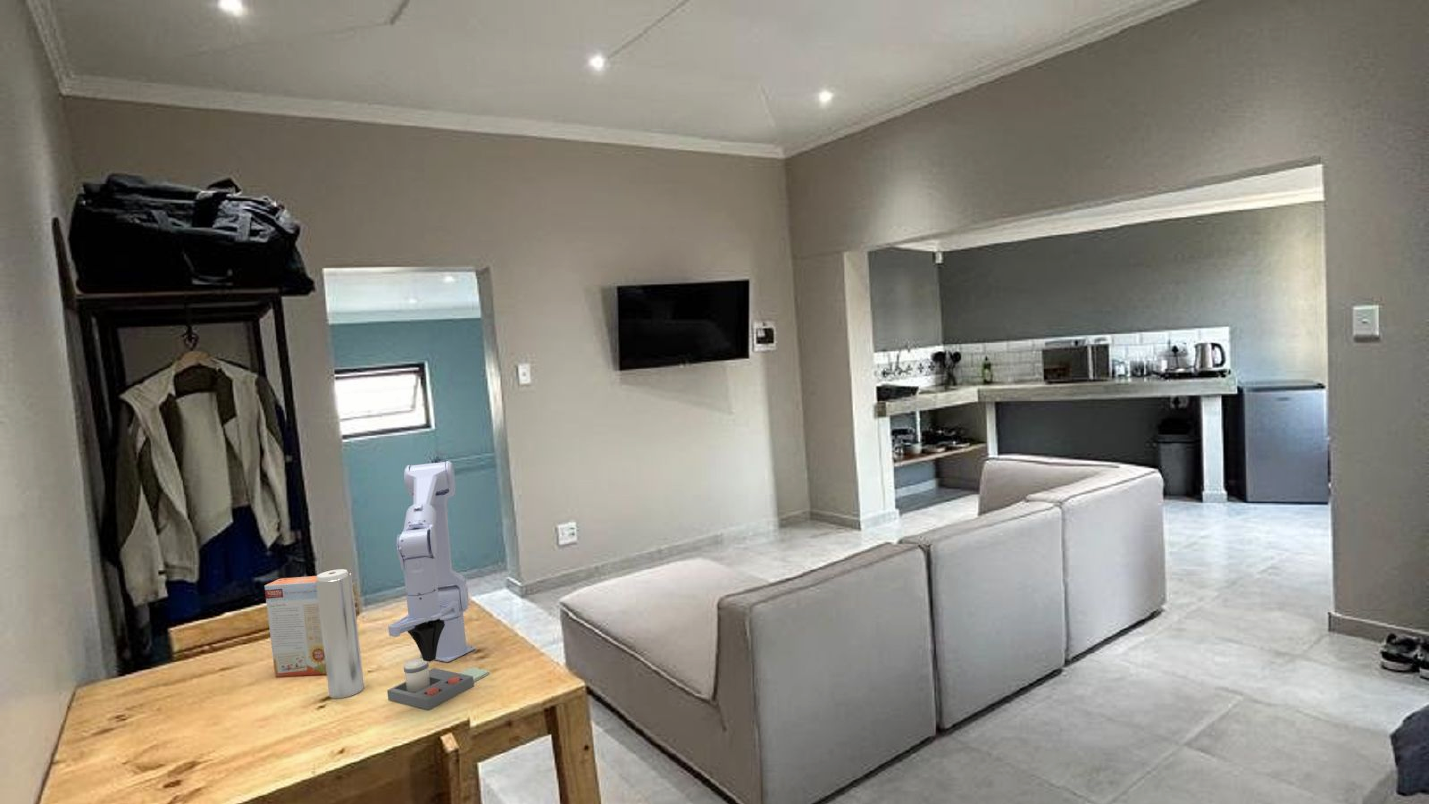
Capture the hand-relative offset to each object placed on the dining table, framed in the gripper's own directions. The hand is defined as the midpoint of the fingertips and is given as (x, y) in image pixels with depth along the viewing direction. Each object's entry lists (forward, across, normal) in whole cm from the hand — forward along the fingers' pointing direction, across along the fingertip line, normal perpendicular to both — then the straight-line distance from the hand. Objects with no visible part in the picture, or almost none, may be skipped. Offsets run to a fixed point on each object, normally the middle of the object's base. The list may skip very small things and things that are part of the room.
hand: (429, 659), depth 144 cm
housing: (+8, +2, +4) cm, 10 cm away
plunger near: (+8, 0, 0) cm, 8 cm away
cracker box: (+9, 0, +41) cm, 42 cm away
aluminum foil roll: (+9, -4, +22) cm, 24 cm away
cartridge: (+8, +1, +6) cm, 10 cm away
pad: (+8, +11, +2) cm, 14 cm away
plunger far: (+8, +5, 0) cm, 9 cm away
